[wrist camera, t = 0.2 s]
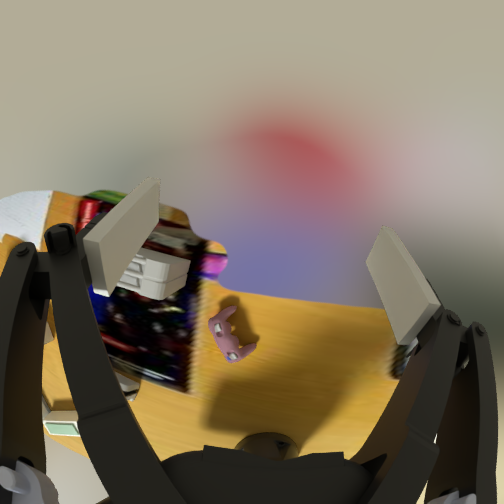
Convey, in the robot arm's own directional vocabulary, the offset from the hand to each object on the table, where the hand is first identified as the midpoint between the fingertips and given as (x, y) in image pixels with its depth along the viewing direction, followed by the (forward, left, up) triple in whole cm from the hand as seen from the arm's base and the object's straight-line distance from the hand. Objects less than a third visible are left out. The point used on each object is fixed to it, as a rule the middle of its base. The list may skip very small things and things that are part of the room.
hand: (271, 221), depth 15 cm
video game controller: (-15, +7, -36) cm, 39 cm away
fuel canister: (+2, +19, -36) cm, 40 cm away
